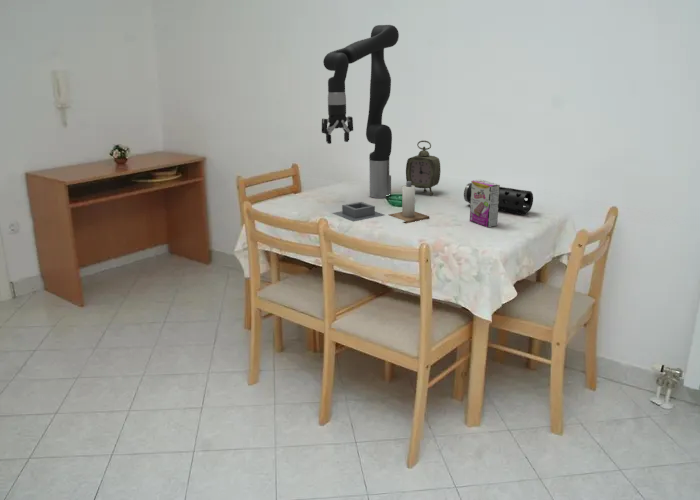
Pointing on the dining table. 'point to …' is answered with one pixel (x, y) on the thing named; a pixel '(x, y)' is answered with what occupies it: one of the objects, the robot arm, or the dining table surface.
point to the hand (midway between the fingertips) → (337, 142)
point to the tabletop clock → (423, 169)
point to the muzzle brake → (508, 199)
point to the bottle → (408, 200)
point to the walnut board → (410, 219)
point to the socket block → (358, 211)
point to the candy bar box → (484, 203)
